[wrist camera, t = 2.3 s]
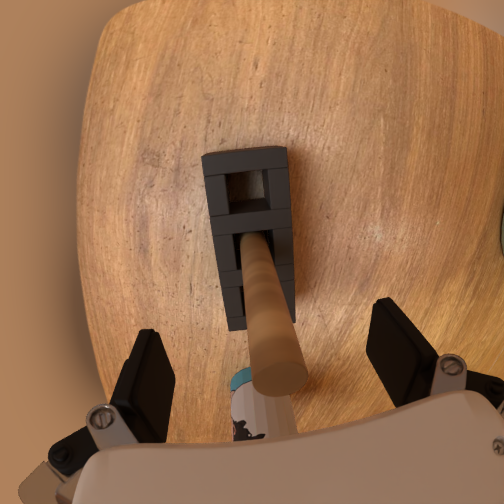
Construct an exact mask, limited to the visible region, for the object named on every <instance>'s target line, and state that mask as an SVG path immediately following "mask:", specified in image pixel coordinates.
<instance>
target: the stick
mask: <svg viewBox="0 0 504 504" xmlns="http://www.w3.org/2000/svg"><path fill="white" fill-rule="evenodd" d="M239 240H240V252H241V264H242V276H243V288H244V299H245V311H246V322H247V333H248V344H249V355H250V365H251V376H252V384H253V387H254V388H255V390H256V391H257V392H259V393H260V394H262V395H265V396H269V397H282V396H287V395H290V394H292V393H294V392H296V391H298V390H299V389H301V388H302V387H303V386H304V385H305V383H306V381H307V379H308V371H307V367H306V364H305V361H304V358H303V354H302V351H301V348H300V345H299V341H298V338H297V335H296V332H295V329H294V325H293V322H292V319H291V316H290V313H289V310H288V306H287V303H286V300H285V297H284V294H283V291H282V288H281V285H280V281H279V278H278V275H277V272H276V269H275V266H274V263H273V260H272V257H271V254H270V251H269V248H268V245H267V242H266V239H265V236H264V233H263V230H260V231H252V232H243V233H239Z"/></svg>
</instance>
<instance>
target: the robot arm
mask: <svg viewBox="0 0 504 504" xmlns="http://www.w3.org/2000/svg"><path fill="white" fill-rule="evenodd" d="M366 354H367V356H368V358H369V360H370V362H371V363H372V365H373V367H374V369H375V371H376V372H377V374H378V376H379V378H380V380H381V381H382V383H383V385H384V387H385V389H386V391H387V393H388V394H389V396H390V398H391V400H392V402H393V404H394V406H395V407H396V408H395V409H392V410H389V411H386V412H383V413H380V414H376V415H373V416H370V417H366V418H363V419H359V420H356V421H352V422H348V423H344V424H340V425H336V426H332V427H328V428H323V429H319V430H314V431H309V432H303V433H298V434H292V435H286V436H279V437H272V438H264V439H256V440H246V441H234V442H218V443H165V442H166V439H167V432H168V425H169V418H170V412H171V406H172V399H173V393H174V387H175V374H174V372H173V369H172V367H171V364H170V362H169V359H168V356H167V354H166V351H165V349H164V346H163V343H162V340H161V338H160V335H159V333H158V332H155V331H154V329H141V330H140V331H139V333H138V336H137V338H136V341H135V344H134V346H133V349H132V351H131V354H130V356H129V359H127V360H126V361H125V362H124V365H123V367H122V370H121V373H120V375H119V378H118V381H117V383H116V386H115V389H114V392H113V395H112V397H111V400H110V403H109V404H100V405H97V406H95V407H93V408H92V409H91V410H90V411H89V412H88V414H87V416H86V424H87V426H85V427H83V428H81V429H80V430H78V431H76V432H74V433H73V434H71V435H69V436H67V437H66V438H64V439H62V440H60V441H58V442H57V443H55V444H54V445H53V446H52V447H51V448H50V450H49V453H48V459H49V460H48V461H47V462H45V461H43V462H42V463H41V464H40V465H39V466H38V467H37V468H36V469H35V470H34V471H33V472H32V473H31V474H30V475H29V476H28V477H27V478H26V479H25V480H24V481H23V482H22V483H21V484H20V486H19V489H18V494H19V497H20V499H21V501H22V502H23V503H24V504H504V381H503V380H502V379H500V378H498V377H494V376H490V375H486V374H482V373H478V372H473V371H469V370H467V365H466V363H465V361H464V360H463V359H462V358H461V357H460V356H458V355H455V354H444V355H442V356H440V357H439V356H438V354H437V352H436V351H435V350H434V348H433V347H432V346H431V345H430V343H429V342H428V341H427V340H426V339H425V337H424V336H423V335H422V334H421V333H420V331H419V330H418V329H417V328H416V327H415V325H414V324H413V323H412V322H411V321H410V319H409V318H408V317H407V316H406V315H405V314H404V313H403V311H402V310H401V309H400V308H399V307H398V306H397V305H396V303H395V302H394V301H393V300H392V299H391V298H390V297H386V298H382V299H378V300H377V301H376V303H374V304H373V309H372V316H371V322H370V328H369V334H368V340H367V345H366Z"/></svg>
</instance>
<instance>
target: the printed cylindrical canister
mask: <svg viewBox="0 0 504 504" xmlns="http://www.w3.org/2000/svg"><path fill="white" fill-rule="evenodd" d="M231 423H232V442H234V441H246V440H256V439H264V438H272V437H279V436H286V435H292V434H298V431H297V426H296V422H295V417H294V412H293V408H292V403H291V399H290V395H287V396H282V397H269V396H265V395H262V394H260V393H259V392H257V391H256V390H255V388H254V387H253V384H252V376H251V367H248V368H246V369H243V370H241V371H240V372H238V373H237V374H235V376H234V377H233V378H232V380H231Z"/></svg>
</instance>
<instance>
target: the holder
mask: <svg viewBox="0 0 504 504" xmlns="http://www.w3.org/2000/svg"><path fill="white" fill-rule="evenodd" d="M201 159H202V167H203V174H204V176H205V177H204V181H205V188H206V196H207V203H208V209H209V216H210V223H211V230H212V236H213V242H214V249H215V255H216V261H217V267H218V271H219V279H220V284H221V290H222V296H223V301H224V307H225V312H226V317H227V323H228V329H229V331H238V330H247V322H246V311H245V299H244V291H242V289H241V286H243V276H242V264H241V252H240V249H238V250H236V244H235V236H234V234H235V233H243V232H252V231H260V230H267V231H268V243H269V246H268V248H269V251H270V254H271V257H272V260H273V263H274V266H275V269H276V272H277V275H278V278H279V281H280V285H281V288H282V291H283V294H284V297H285V300H286V303H287V306H288V310H289V313H290V316H291V319H292V322H293V323H296V317H295V282H294V255H293V234H292V216H291V199H290V185H289V171H288V159H287V148H286V147H282V146H265V147H254V148H244V149H235V150H227V151H219V152H212V153H207V154H205V155H203V156H201ZM255 170H262V176H263V187H264V197H265V198H261V199H251V200H243V201H234V202H230V196H229V188H228V180H227V174H228V173H236V172H245V171H255Z"/></svg>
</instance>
